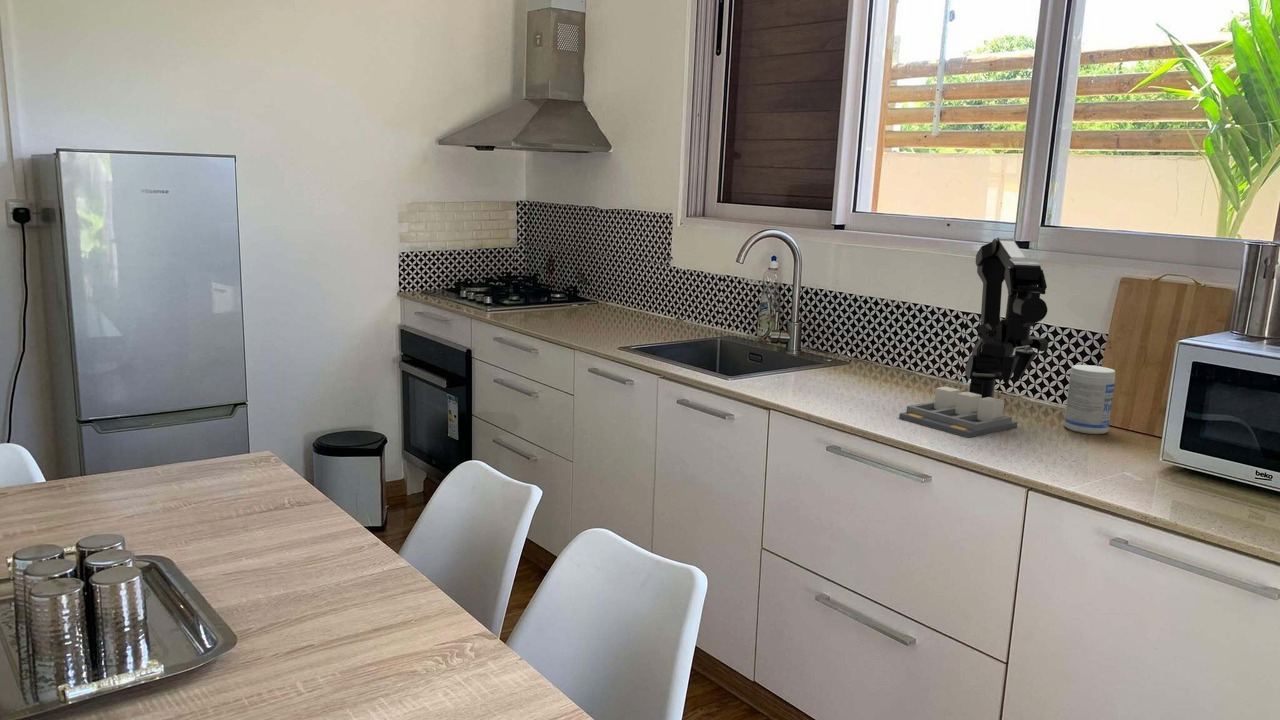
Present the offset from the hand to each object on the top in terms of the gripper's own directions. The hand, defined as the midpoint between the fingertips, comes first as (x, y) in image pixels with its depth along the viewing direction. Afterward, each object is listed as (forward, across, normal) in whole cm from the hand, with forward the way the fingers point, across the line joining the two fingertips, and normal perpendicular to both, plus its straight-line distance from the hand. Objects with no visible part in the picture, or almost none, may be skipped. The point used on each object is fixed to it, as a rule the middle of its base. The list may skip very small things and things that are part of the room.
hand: (1010, 381), depth 223 cm
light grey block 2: (+8, +7, 0) cm, 11 cm away
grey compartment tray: (+10, +10, -6) cm, 16 cm away
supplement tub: (+10, -12, +13) cm, 20 cm away
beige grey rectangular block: (+8, +7, -12) cm, 16 cm away
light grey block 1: (+8, +7, -6) cm, 13 cm away
